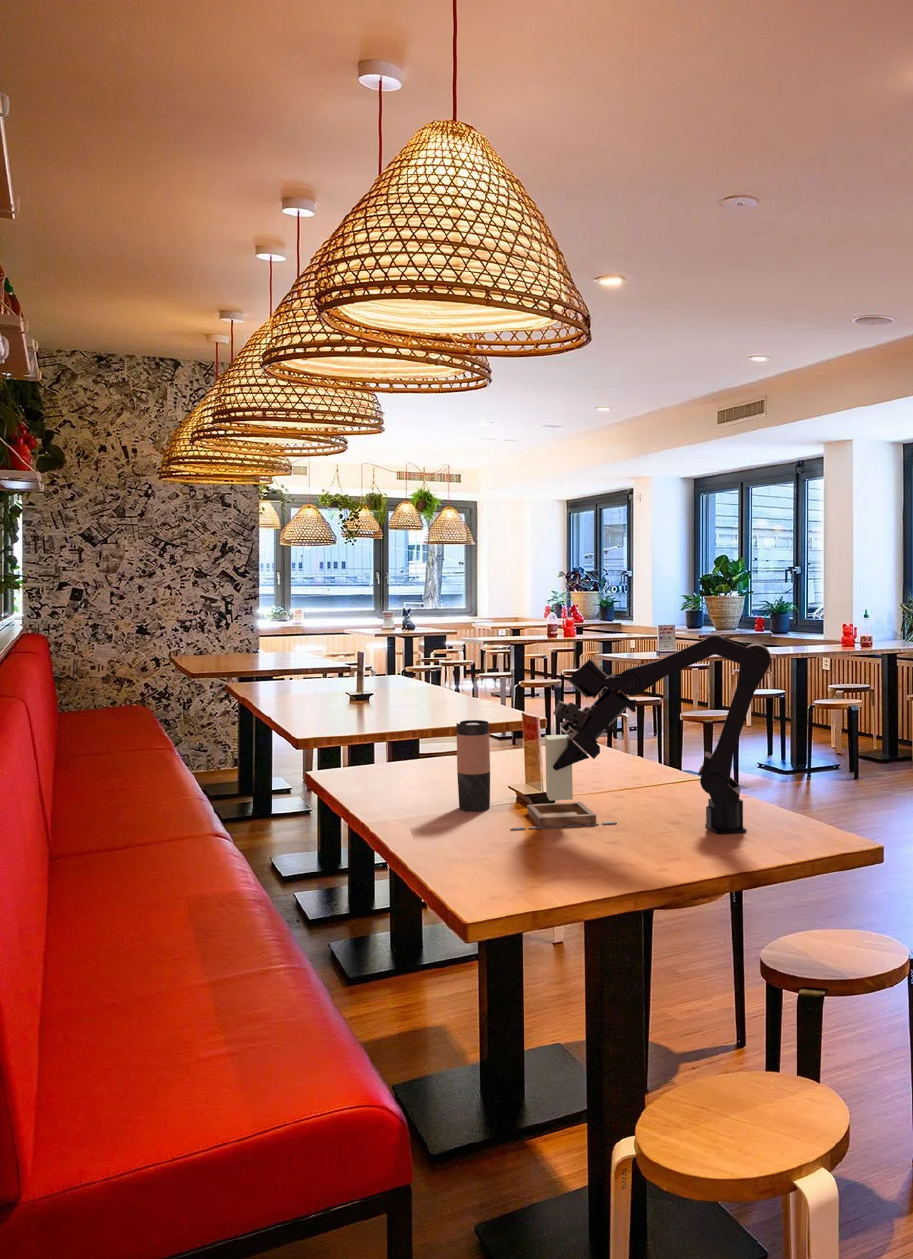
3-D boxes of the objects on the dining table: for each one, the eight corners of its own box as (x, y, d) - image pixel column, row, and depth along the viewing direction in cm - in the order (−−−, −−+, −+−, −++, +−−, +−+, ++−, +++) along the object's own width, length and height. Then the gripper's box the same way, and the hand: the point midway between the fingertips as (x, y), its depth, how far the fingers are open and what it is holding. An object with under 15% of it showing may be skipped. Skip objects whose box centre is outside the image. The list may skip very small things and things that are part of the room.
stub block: (569, 793, 204) (568, 734, 203) (572, 799, 199) (571, 739, 198) (546, 794, 204) (545, 735, 203) (549, 800, 199) (547, 739, 198)
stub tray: (580, 810, 214) (580, 801, 213) (596, 824, 201) (596, 815, 201) (527, 813, 212) (527, 804, 212) (539, 827, 200) (539, 818, 200)
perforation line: (615, 823, 202) (615, 821, 202) (616, 824, 201) (616, 822, 201) (510, 829, 199) (510, 827, 199) (511, 830, 198) (511, 828, 198)
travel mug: (496, 809, 216) (494, 723, 215) (465, 813, 213) (463, 726, 212) (483, 802, 223) (481, 719, 222) (453, 806, 220) (451, 721, 219)
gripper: (568, 683, 210) (520, 733, 210) (583, 693, 191) (530, 748, 191) (604, 717, 210) (556, 767, 211) (622, 730, 192) (569, 785, 192)
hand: (552, 766), depth 201 cm, fingers closed on stub block, 5 cm apart
